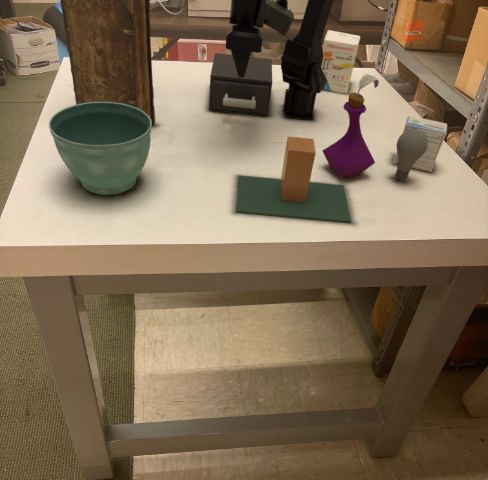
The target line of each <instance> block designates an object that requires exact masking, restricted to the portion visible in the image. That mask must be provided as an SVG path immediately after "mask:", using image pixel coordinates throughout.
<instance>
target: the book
mask: <svg viewBox="0 0 488 480" xmlns="http://www.w3.org/2000/svg"><path fill="white" fill-rule="evenodd" d="M59 1H60V8H61V12H62V19H63V24H64V27H63V29H64V32H65V37H66V44H67V45H66V46H67V52H68V57H69V63H70V64H69V65H70V73H71V75H72V76H71V78H72V85H73V92H74V99H75V105H78V104H83V103H89V102H114V103H122V104H126V105H130V106H133V107H136V108H138V109H140V110H142V111H143V112H145V113H146V114H147V115H148V116H149V117H150V119H151V121H152V126H155V125H156V109H155V101H154V99H155V93H154V84H153V83H154V81H153V59H152V42H151V41H152V40H151V39H152V38H151V33H152V32H151V31H152V30H151V28H152V27H151V18H150V17H151V15H150V14H151V0H59Z"/></svg>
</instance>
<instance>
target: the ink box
mask: <svg viewBox="0 0 488 480" xmlns="http://www.w3.org/2000/svg"><path fill="white" fill-rule="evenodd" d="M360 41H361V35H356V34H353V33H352V34H351V33H348V32H347V33H346V32H341V31H336V30H330V29H328V30H327V31H326V33H325V36H324V39H323V43H322V48H323V55H324V57H323V61H322V66H321V69H322V71H323V73H324V75H325V77H326V79H327V82H326V85H325V87H324V90H323V91H328V92H335V93H341V94H348V90H349V86H350V83H351V79H352V75H353V70H354V66H355V61H356V57H357V53H358V49H359V44H360Z"/></svg>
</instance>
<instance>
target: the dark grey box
mask: <svg viewBox="0 0 488 480" xmlns="http://www.w3.org/2000/svg"><path fill="white" fill-rule="evenodd" d="M209 75H210V78H209V101H208V102H209V103H208V111H213V112H224V113H232V114H233V113H234V114H242V115H243V114H244V115H253V116H262V117H263V116H264V117H269V112H270V106H271V105H270V104H271V98H272V97H271V96H272V89H273V88H272V87H273V59H272V58H265V57H256V56H250V59H249V62H248V66H247V69H246V73H245V76H244V77H239V76H238V73H237V70H236V66H235V63H234V60H233V56H232V54H228V53H219V52H215V53H214V55H213V61H212V66H211V71H210V74H209ZM213 80H226V81H235V82H245V83H255V84H264V85H267V86H269V94H268V102H267V110H266V114H260V113H250V112H240V111H231V110H221V109H212V83H213Z"/></svg>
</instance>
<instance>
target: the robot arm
mask: <svg viewBox="0 0 488 480" xmlns="http://www.w3.org/2000/svg"><path fill="white" fill-rule="evenodd" d="M230 1H231V2H230V13H229V24H230V25H231V27H230V28H228V29H226V30H227V31H226V35H225V49H226V50H230V53H231V55H232V56H233V60H234V63H235V66H236V70H237V73H238V76H239V77H244V76H245V73H246V69H247V66H248V62H249V59H250V57H251V55H252V53H254V54H255V53H256V54H259V53H262V47H263V33H262V32H261V30H260V29H264V25H266V26H267V27H268V28H271V29H272V30H274V31H276V32H277V33H278V34H279V35H281V36H282V37H286V36H287V35H288V33H289V31H290V28H291V26H292V25H293V22H294V20H295V14H294V13H293V11H292V9H288V8H289V7H288V6H289V2H288V0H230ZM334 1H335V0H307V3H306V7H305V11H304V13H303V17H302V20H301V23H300V27H299V31H298V33H297V34H296V35H295V36H294V37H293V38H292V39H287V40H286V41H285V43H284V49H283V51H282V52H283V53H282V56H281V57H280V60H281V62H280V70H281V76H282V82H283V83H286V84H288V88H285V90H284V98H283V99H284V100H283V106H282V108H283V109H282V110H283V112H284V116H285V117H286V118H289V119H290V118H291V119H299V120H300V119H301V120H309V121H310V120H311V121H312V120H314V109H315V104H316V98H317V94H321V93H322V91H325V90H324V87H325V85H326V82H327V79H326V77H325V75H324V73H323V71H322V69H321V66H322V61H323V57H324V55H323V43H322V40H323V35H324V33H325V30H326V26H327V23H328V20H329V16H330V13H331V10H332V7H333V4H334Z"/></svg>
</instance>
